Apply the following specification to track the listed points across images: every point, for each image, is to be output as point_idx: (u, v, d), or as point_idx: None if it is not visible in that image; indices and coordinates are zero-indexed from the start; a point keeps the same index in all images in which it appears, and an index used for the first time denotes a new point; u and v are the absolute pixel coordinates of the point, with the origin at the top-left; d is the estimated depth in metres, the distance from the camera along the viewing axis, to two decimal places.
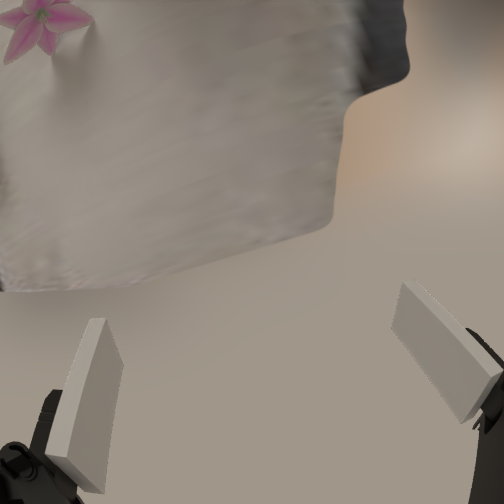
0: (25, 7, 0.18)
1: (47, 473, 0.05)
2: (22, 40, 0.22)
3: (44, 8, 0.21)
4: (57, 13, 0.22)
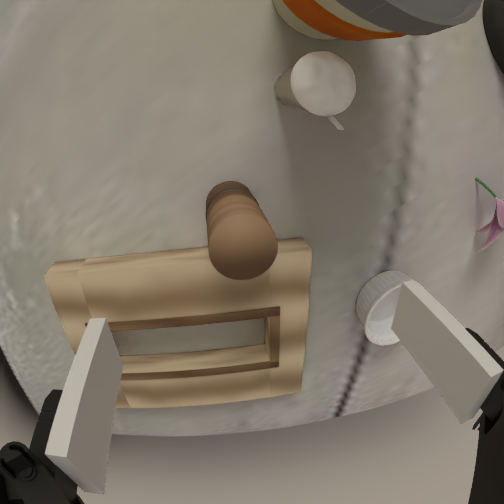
0: None
1: (47, 473, 0.05)
2: None
3: (503, 200, 0.29)
4: None
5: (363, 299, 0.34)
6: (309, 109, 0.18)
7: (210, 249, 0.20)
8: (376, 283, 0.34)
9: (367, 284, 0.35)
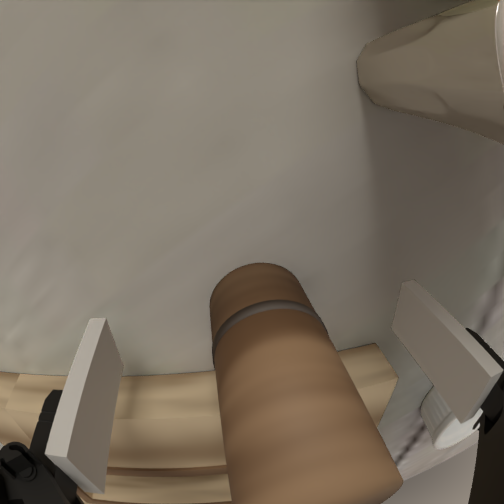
0: None
1: (47, 473, 0.05)
2: None
3: None
4: None
5: (437, 402, 0.20)
6: None
7: None
8: None
9: None
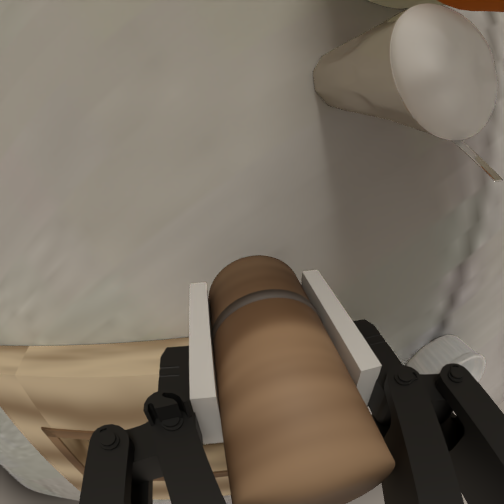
0: None
1: (195, 426, 0.07)
2: None
3: None
4: None
5: None
6: (429, 124, 0.07)
7: None
8: (429, 357, 0.23)
9: (416, 357, 0.24)
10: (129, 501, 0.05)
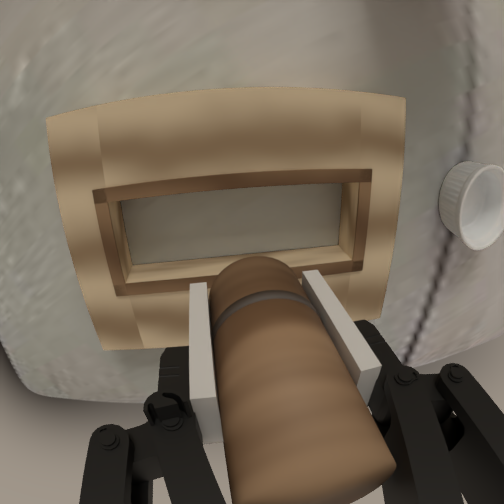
0: None
1: (195, 426, 0.07)
2: None
3: None
4: None
5: (450, 187, 0.25)
6: None
7: None
8: (461, 168, 0.25)
9: (450, 172, 0.26)
10: (129, 501, 0.05)
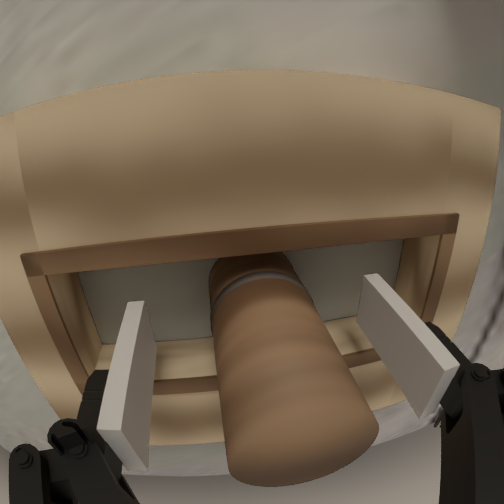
0: None
1: (99, 452, 0.06)
2: None
3: None
4: None
5: None
6: None
7: (232, 466, 0.07)
8: None
9: None
10: None
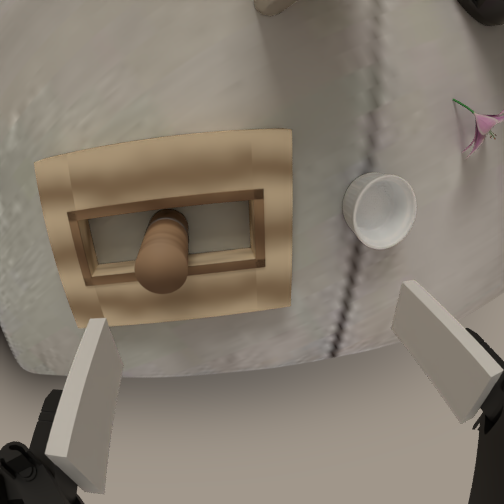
0: (495, 120, 0.28)
1: (47, 473, 0.05)
2: None
3: None
4: None
5: (349, 196, 0.34)
6: None
7: (135, 270, 0.24)
8: (360, 180, 0.34)
9: (351, 183, 0.35)
10: None
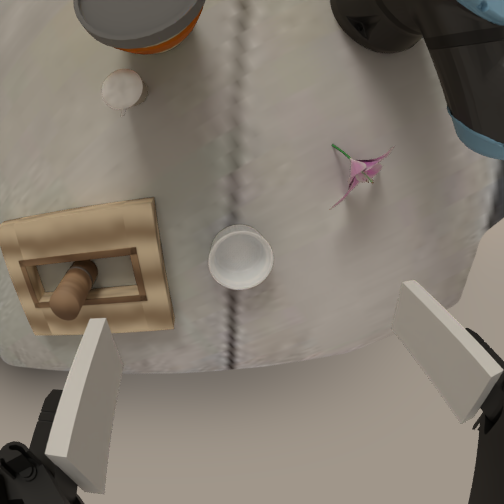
0: (364, 167, 0.37)
1: (47, 473, 0.05)
2: None
3: (359, 160, 0.40)
4: (368, 168, 0.41)
5: (211, 247, 0.44)
6: (111, 107, 0.28)
7: (50, 306, 0.34)
8: (220, 233, 0.43)
9: (216, 235, 0.44)
10: None
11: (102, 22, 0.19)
